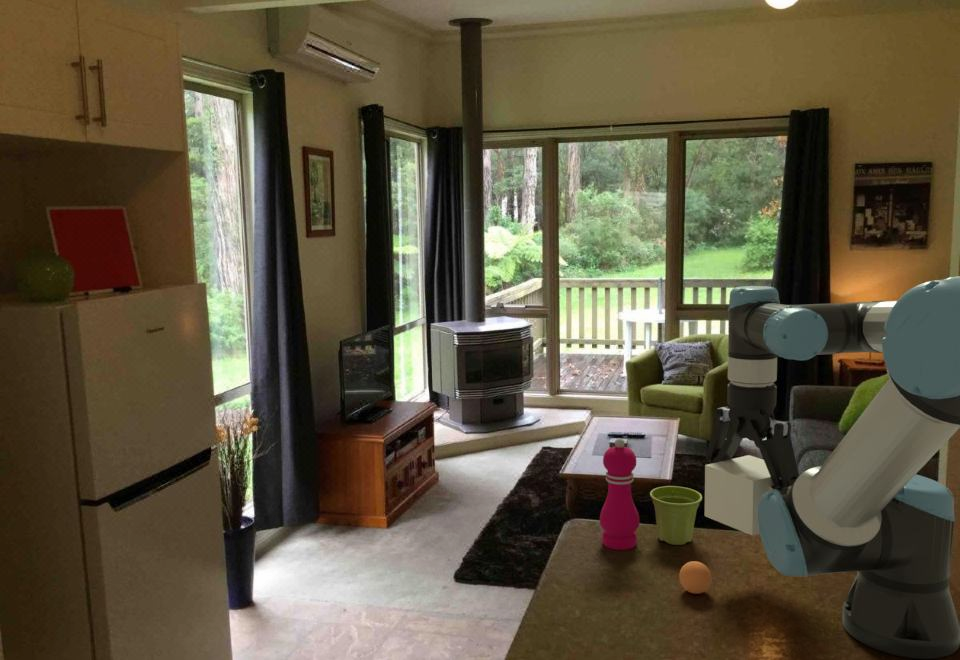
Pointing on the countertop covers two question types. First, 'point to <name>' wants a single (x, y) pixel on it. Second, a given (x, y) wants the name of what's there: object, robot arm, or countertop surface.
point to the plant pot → (675, 513)
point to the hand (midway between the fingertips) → (749, 514)
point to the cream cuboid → (736, 492)
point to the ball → (695, 577)
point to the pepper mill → (619, 499)
